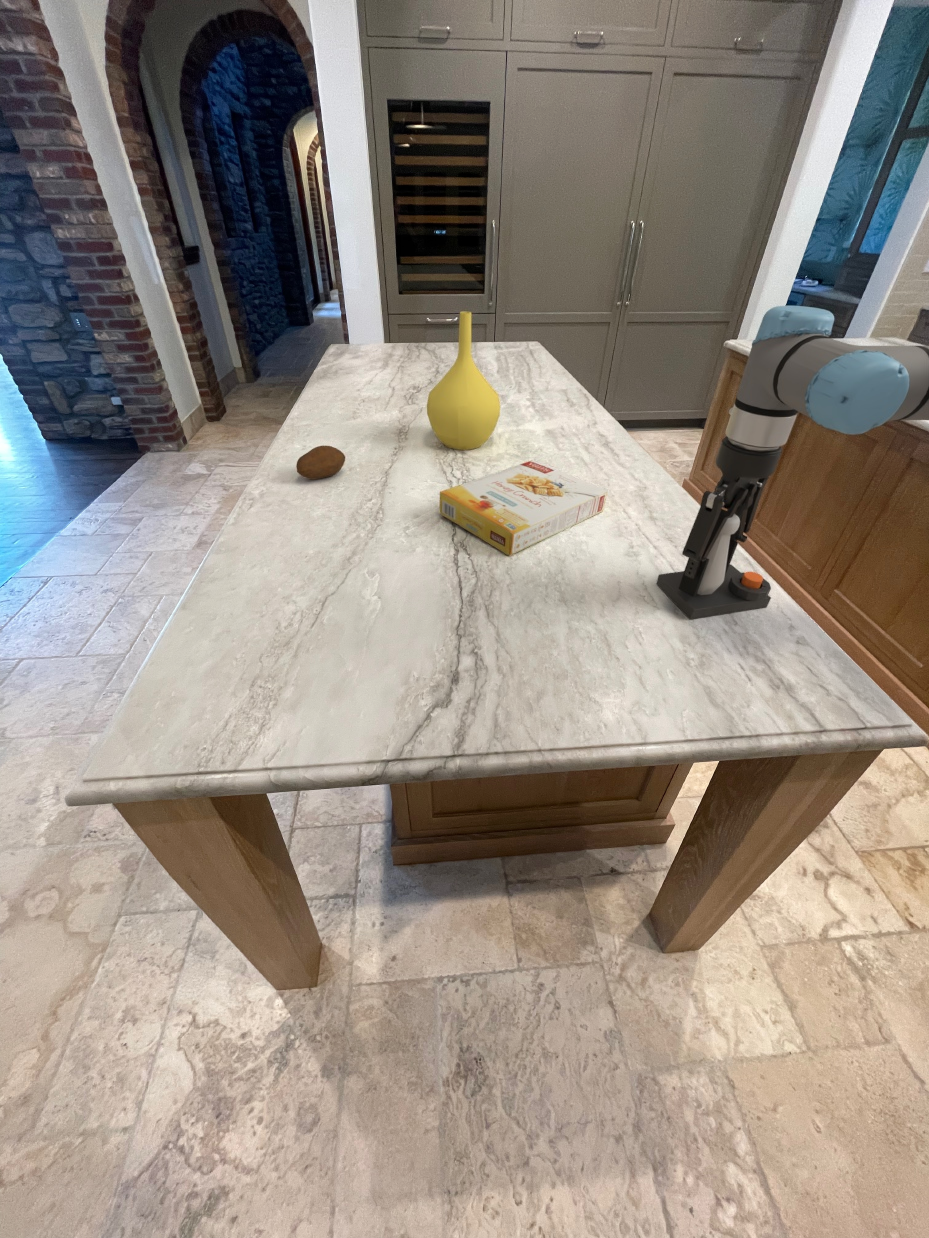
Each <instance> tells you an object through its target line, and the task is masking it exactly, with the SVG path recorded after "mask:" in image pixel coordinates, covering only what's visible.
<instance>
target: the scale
mask: <svg viewBox="0 0 929 1238" xmlns="http://www.w3.org/2000/svg"><path fill="white" fill-rule="evenodd" d="M684 571H685V570H682V571H675V572H667V573H660V574H658V576H657V580H656V583H655V584H656V586H657V587H658V588H659V589H660V590H661V591H662V592H663V593H664V594H665V595H666V596H667V597H668V598H669V600H670V601H672V603H674V604H675V606H677V607H678V609H679V610H680V611H681V612H682V613H683V614H684V615H685V616H686V617H687V618H688V619H689V620H690V621H691V620H692V621H693V620H698V619H704V618H710V617H716V616H721V615H727V614H734V613H739V612H747V611H753V610H758V609H765V608H768V606H769V604H770V601H771V599H772V597H771V596H770V592H771V589H772V587H771V583H770V582H769V581H768V580H767V579H765V578H764V577H763V581H762V583H761V586H760V588H758V589H753V588H748V587H746V586H744V585H743V584H741V580H742V578H743V575H744V573H745V572H741V571H740V570H739V569H738V568H736V567H735V566H734V565H733V564H731V563H730V565H729V567H728V570H727V573H726V575H725V577H724V581H723V583H722V584H721V585H720V586H719V587H718V588H717V589H716V590H715V591H714V592H713V593H712V594H708V595H699V594H697V595H696V596H695V597H693V596H691V595H689V594H687V593H685V592H683V591H681V590H679V586H680V583H681V580H682V577H683V574H684Z"/></svg>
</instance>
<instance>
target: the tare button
mask: <svg viewBox="0 0 929 1238" xmlns="http://www.w3.org/2000/svg"><path fill="white" fill-rule="evenodd" d="M743 573H744V575H743V578H742V580H741V584H743V585H744V586H746V587H748V588H753V589H758V588H760V586H761V583H762V581H763V578H764V577H763V575H761V574H760V573H758V572H755V571H745V572H743Z"/></svg>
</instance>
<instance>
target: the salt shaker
mask: <svg viewBox="0 0 929 1238" xmlns="http://www.w3.org/2000/svg"><path fill="white" fill-rule="evenodd" d="M739 525H740V519H739V517H738V516H737V515H735V514H734V515H733V517H731V518H728V519H727V521H726V523H725V524H724V526H723V528H722V530H721V532H720V534H719V536H718V538H717V539H716V541H715V543H714V545H713V547H712V549H711V551H710V553H709V554H708V556H707V559H709V562H708V565H707V567H706V570H705V573H704V576H703V578H702V581H701V584H700V587H699V590H698V592H697V594H699V595H708V594H712V593H713V592H714V591H715V590H716V589H717V588H718V587H719V586H720V585H721V584H722V583H723V581H724V577H725V570H726V563H727V556H728V549H729V542H730V535H731V534H734V533H735V532H736V531H737V530H738V528H739Z"/></svg>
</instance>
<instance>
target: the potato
mask: <svg viewBox="0 0 929 1238" xmlns="http://www.w3.org/2000/svg"><path fill="white" fill-rule="evenodd" d="M345 462H346V455H345V454H344V452H343V451H341V450H340V449H338V448H336V447H334V446H331V445H319V446H315V447H313V448H311V449H309V451H308V452H305V453H304V454H302V455H301V456H299V458H298V459H297V461H296V465H295V466H296V467H295V468H296V472H297V474H298V475H299V476H300V477H303V478H305V479H308V480H319V479H325V478H330V477H332V476H335V475H337V474H338V473H339V472H340V471H341V470H342V468H343V466H344V464H345Z"/></svg>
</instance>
